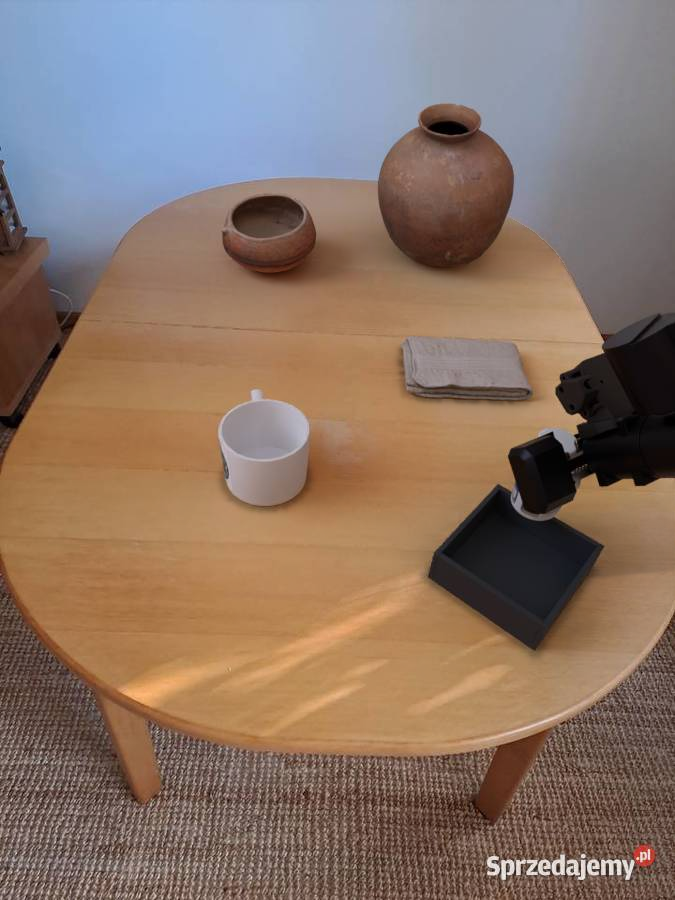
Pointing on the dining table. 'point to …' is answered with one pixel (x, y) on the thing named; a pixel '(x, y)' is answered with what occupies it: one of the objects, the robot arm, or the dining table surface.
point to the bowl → (269, 232)
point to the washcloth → (464, 369)
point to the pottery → (445, 188)
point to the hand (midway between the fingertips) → (541, 453)
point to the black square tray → (514, 566)
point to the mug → (264, 450)
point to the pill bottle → (569, 446)
